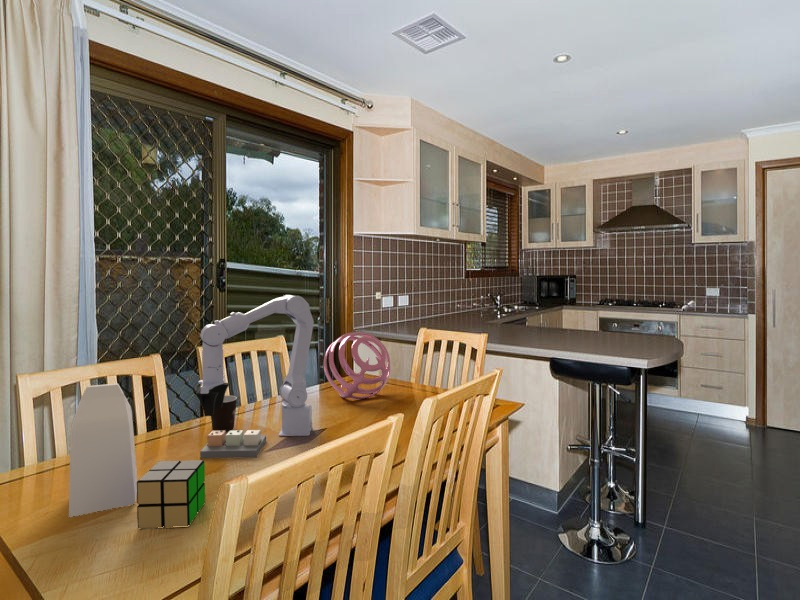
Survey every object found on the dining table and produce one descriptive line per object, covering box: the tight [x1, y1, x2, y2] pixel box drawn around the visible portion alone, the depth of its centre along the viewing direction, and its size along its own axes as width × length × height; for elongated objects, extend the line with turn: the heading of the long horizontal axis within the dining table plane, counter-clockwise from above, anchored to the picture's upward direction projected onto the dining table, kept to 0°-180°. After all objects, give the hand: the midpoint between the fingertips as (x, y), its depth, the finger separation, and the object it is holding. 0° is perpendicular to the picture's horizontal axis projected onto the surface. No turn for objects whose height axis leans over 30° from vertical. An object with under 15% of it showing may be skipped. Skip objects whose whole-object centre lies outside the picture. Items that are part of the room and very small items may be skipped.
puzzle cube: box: [136, 459, 206, 529], centre depth 96 cm, size 10×10×10 cm
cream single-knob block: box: [243, 429, 262, 446], centre depth 133 cm, size 4×4×4 cm
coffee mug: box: [210, 394, 238, 433], centre depth 151 cm, size 12×9×10 cm
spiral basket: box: [323, 331, 391, 400], centre depth 191 cm, size 28×28×27 cm
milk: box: [68, 383, 138, 518], centre depth 102 cm, size 12×12×26 cm
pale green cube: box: [226, 429, 244, 446], centre depth 132 cm, size 4×4×4 cm
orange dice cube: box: [207, 430, 227, 446], centre depth 132 cm, size 4×4×4 cm
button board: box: [199, 434, 267, 459], centre depth 133 cm, size 15×12×2 cm
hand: (213, 411), depth 134 cm, fingers open, 7 cm apart
